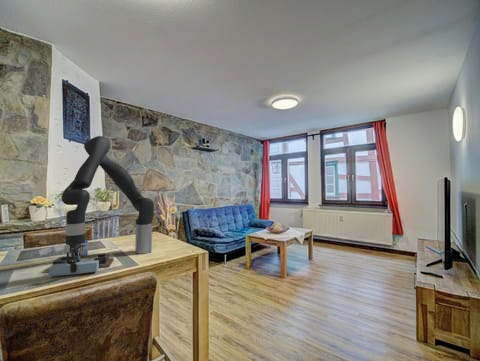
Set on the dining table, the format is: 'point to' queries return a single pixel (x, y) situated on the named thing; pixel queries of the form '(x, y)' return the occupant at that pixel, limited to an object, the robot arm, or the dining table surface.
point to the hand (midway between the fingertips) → (75, 270)
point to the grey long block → (81, 268)
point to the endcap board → (103, 260)
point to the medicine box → (85, 248)
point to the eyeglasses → (48, 250)
